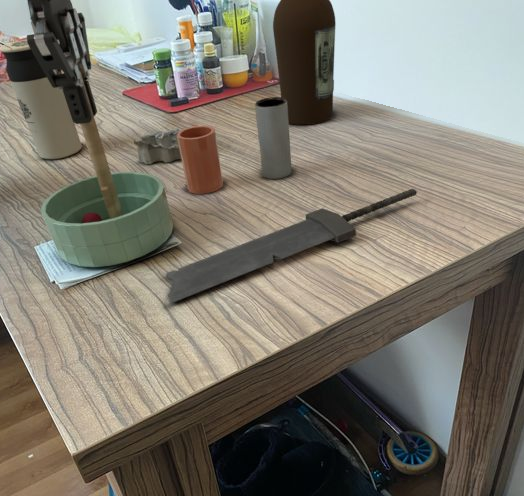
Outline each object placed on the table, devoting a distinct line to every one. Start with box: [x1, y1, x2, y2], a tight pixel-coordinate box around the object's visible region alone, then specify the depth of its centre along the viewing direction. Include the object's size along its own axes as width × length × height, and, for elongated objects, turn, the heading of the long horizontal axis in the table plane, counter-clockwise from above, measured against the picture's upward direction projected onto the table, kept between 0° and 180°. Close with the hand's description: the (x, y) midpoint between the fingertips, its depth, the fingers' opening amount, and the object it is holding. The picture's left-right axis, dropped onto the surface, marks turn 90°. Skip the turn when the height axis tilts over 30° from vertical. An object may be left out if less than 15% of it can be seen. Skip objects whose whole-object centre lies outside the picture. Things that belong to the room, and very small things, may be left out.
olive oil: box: [272, 0, 337, 126], centre depth 89 cm, size 11×11×25 cm
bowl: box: [40, 171, 174, 268], centre depth 66 cm, size 15×15×6 cm
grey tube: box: [254, 96, 293, 180], centre depth 75 cm, size 4×4×10 cm
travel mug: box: [0, 39, 83, 160], centre depth 91 cm, size 8×8×18 cm
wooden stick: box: [79, 71, 123, 219], centre depth 63 cm, size 2×3×18 cm, turn 1°
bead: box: [82, 212, 102, 223], centre depth 68 cm, size 3×3×3 cm
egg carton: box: [133, 125, 199, 165], centre depth 88 cm, size 11×8×4 cm
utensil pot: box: [177, 125, 224, 195], centre depth 75 cm, size 5×5×8 cm
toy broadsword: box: [165, 188, 418, 304], centre depth 61 cm, size 7×35×2 cm, turn 117°
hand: (85, 118), depth 60 cm, fingers closed on wooden stick, 2 cm apart
